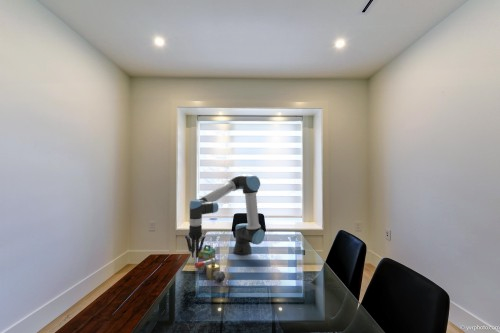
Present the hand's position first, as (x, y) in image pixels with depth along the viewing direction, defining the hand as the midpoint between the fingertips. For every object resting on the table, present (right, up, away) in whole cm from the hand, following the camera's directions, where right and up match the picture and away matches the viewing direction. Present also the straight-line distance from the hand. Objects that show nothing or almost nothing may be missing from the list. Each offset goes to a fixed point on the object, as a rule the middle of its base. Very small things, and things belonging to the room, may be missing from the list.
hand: (195, 262), depth 139 cm
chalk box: (+4, -10, +16) cm, 20 cm away
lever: (+7, -1, -2) cm, 7 cm away
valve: (+11, -10, +1) cm, 15 cm away
